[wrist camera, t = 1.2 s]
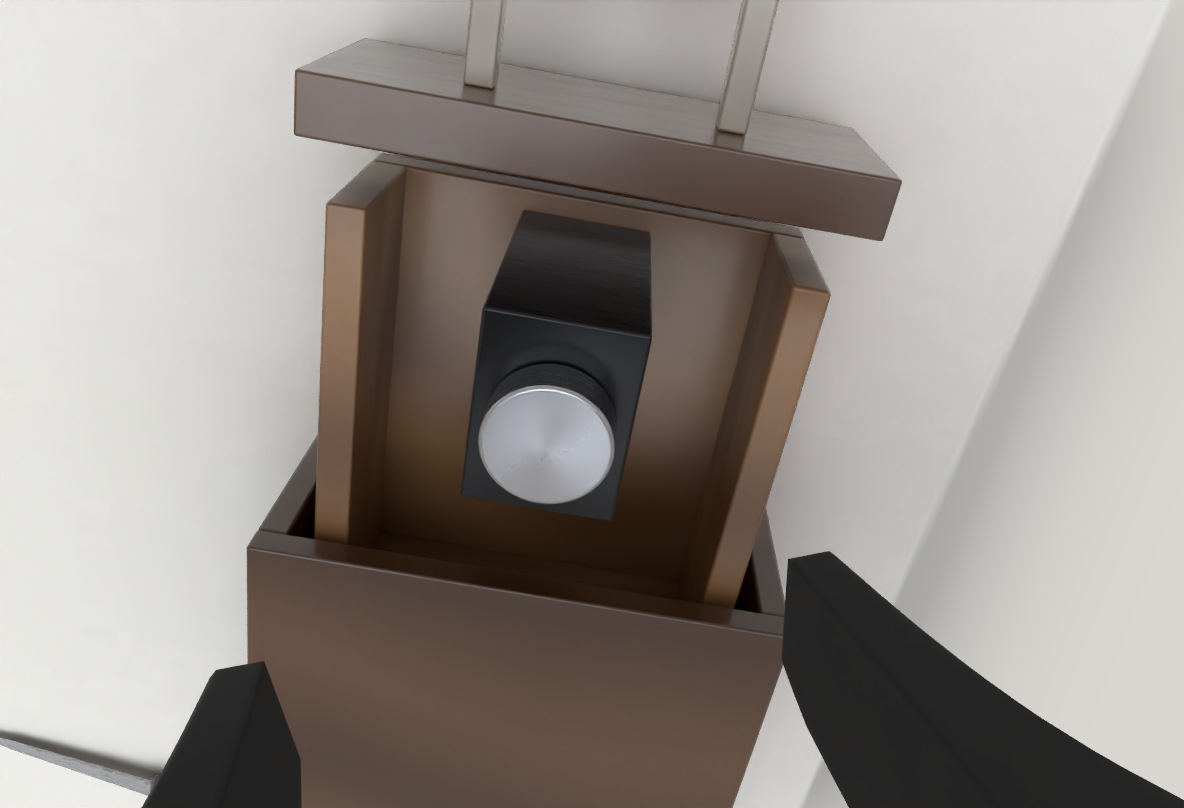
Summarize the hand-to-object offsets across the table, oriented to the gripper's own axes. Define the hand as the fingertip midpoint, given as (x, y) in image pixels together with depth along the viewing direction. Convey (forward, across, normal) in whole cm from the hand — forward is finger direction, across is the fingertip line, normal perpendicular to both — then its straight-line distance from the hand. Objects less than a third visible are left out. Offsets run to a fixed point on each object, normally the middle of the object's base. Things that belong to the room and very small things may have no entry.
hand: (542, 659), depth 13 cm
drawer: (+12, -3, 0) cm, 12 cm away
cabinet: (+12, 0, +12) cm, 18 cm away
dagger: (+15, +14, +18) cm, 28 cm away
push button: (+11, -2, 0) cm, 11 cm away
